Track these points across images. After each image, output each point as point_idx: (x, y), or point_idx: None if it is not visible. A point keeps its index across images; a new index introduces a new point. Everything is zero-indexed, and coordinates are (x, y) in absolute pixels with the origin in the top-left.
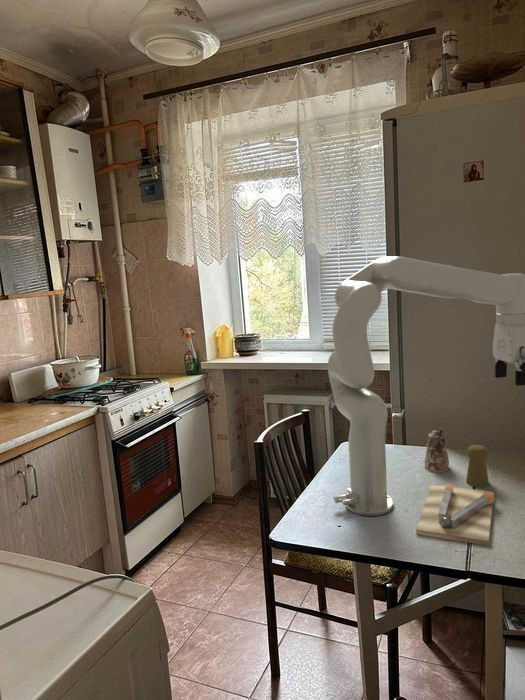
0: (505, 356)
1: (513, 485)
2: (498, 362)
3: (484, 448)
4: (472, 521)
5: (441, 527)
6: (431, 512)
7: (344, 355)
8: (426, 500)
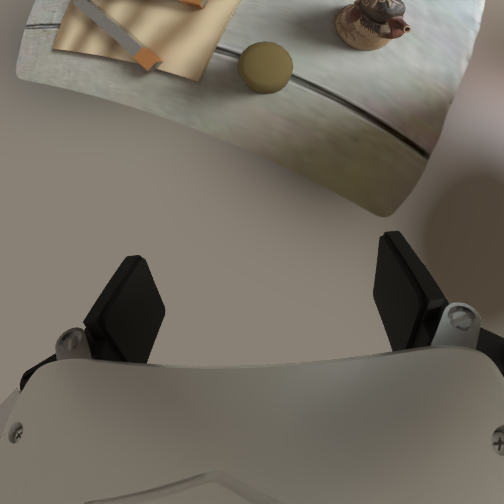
0: (100, 424)
1: (243, 136)
2: (431, 332)
3: (251, 79)
4: (96, 28)
5: None
6: None
7: None
8: None
